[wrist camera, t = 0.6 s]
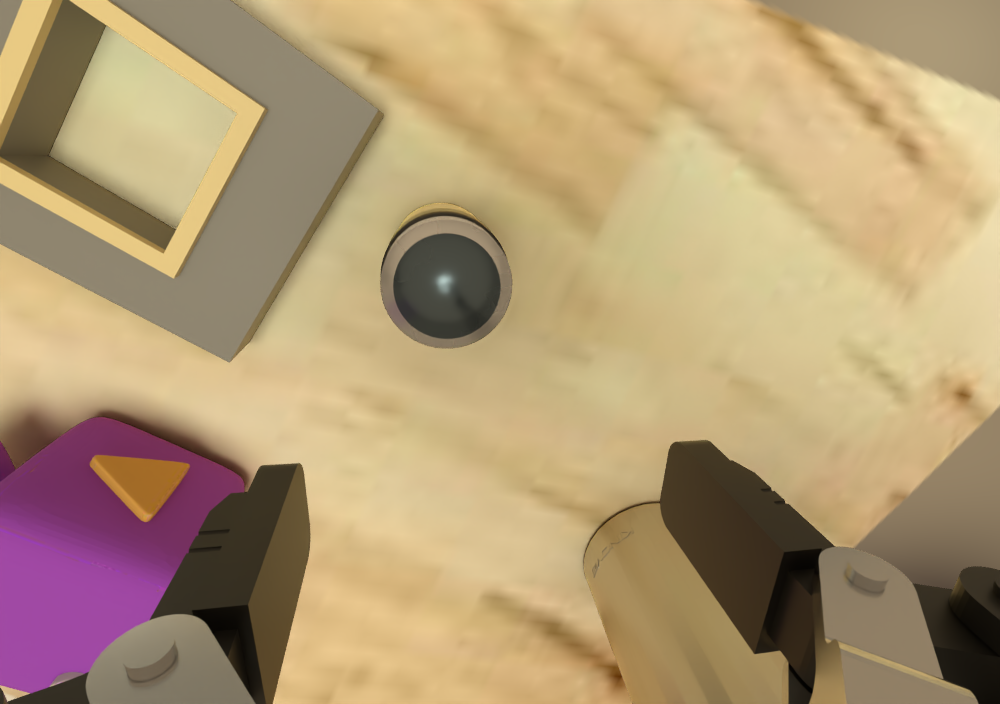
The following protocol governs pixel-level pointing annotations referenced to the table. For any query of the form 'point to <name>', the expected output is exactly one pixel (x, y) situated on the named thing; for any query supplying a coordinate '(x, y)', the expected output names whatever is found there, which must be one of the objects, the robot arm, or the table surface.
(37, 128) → the mount plate
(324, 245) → the table surface
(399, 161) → the table surface
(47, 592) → the toy camera
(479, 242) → the lens
